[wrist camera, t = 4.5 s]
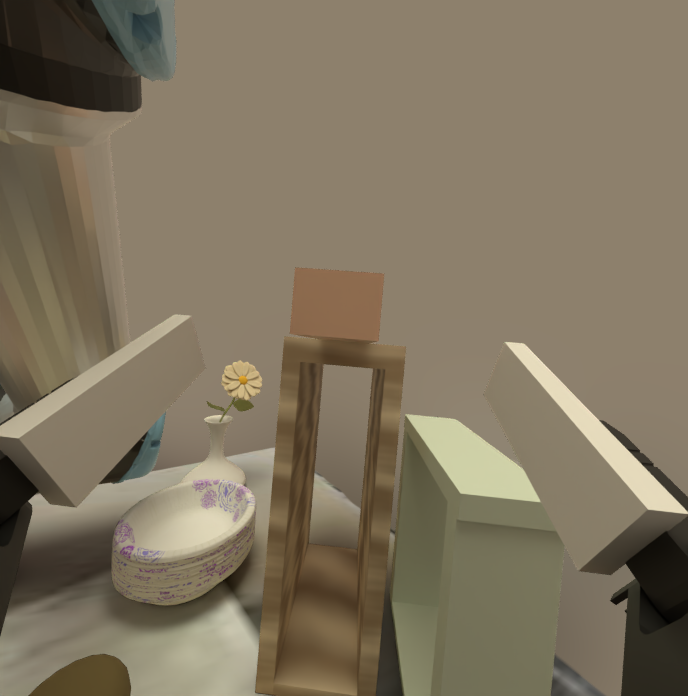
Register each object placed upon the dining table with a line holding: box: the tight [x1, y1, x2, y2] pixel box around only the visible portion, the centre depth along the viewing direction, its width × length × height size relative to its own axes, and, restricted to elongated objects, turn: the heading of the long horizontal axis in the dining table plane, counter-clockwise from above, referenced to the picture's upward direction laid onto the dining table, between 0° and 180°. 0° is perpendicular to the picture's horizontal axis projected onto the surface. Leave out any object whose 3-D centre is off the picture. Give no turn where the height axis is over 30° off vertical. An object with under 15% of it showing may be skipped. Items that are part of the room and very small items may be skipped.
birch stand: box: [255, 336, 406, 696], centre depth 30 cm, size 16×10×30 cm, turn 177°
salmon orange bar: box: [290, 268, 384, 343], centre depth 25 cm, size 26×4×3 cm, turn 177°
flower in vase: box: [180, 361, 262, 485], centre depth 51 cm, size 13×11×25 cm
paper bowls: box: [111, 479, 256, 606], centre depth 34 cm, size 15×15×8 cm
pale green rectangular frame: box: [390, 414, 565, 696], centre depth 24 cm, size 18×6×22 cm, turn 177°
